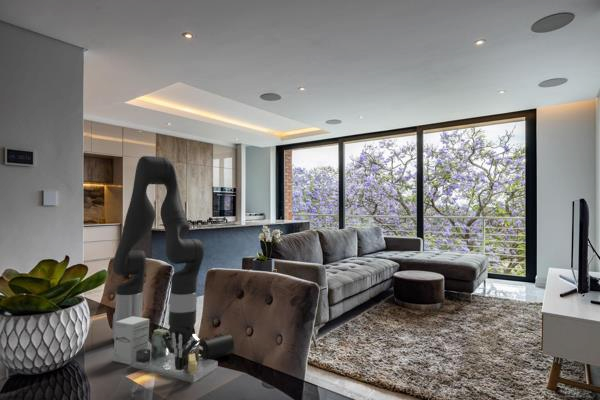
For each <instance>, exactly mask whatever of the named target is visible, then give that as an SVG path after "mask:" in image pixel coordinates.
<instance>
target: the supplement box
mask: <svg viewBox="0 0 600 400" xmlns="http://www.w3.org/2000/svg"><path fill="white" fill-rule="evenodd" d="M149 331H150V318H145V317H142V318H140V317H134V316H132V317H129V318H126V319H123V320H119V321H117V322H116V327H115V341H114V346H113V362H116V363H121V364H125V365H129V366H132V360H133V359H136V352H137V351H138V350H141V349H149V335H150V334H149V333H150V332H149Z"/></svg>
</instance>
